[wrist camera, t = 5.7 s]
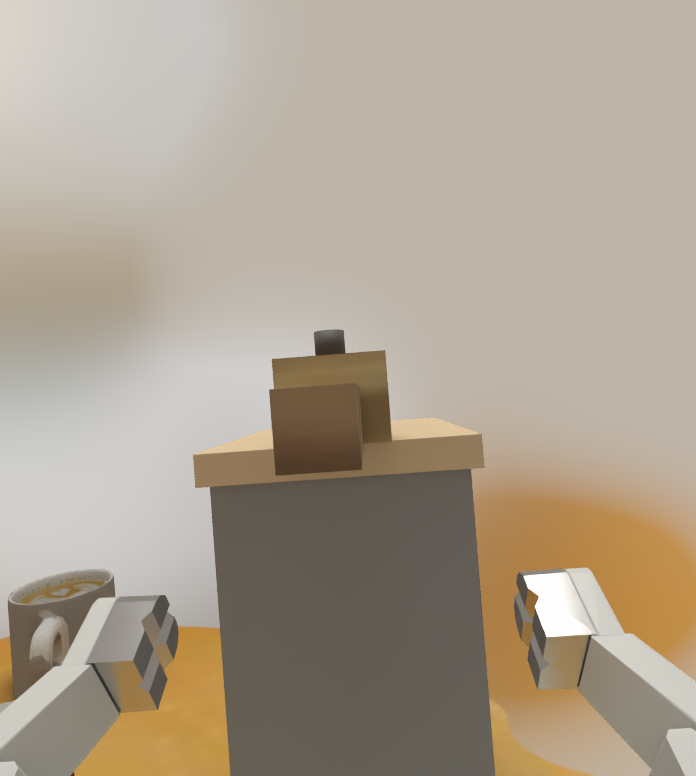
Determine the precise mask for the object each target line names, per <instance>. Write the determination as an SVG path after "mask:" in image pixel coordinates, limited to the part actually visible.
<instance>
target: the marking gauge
mask: <svg viewBox="0 0 696 776" xmlns="http://www.w3.org/2000/svg"><path fill="white" fill-rule="evenodd" d="M314 340H315V353H316V356H307V357H294V358H282V359H272V367H273V380H274V389H271V390H269V393H270V407H271V419H272V434H273V448H274V461H275V475H276V476H280V475H295V474H309V473H323V472H338V471H352V470H362V459H363V444H365V443H379V442H392V434H391V421H390V408H389V395H388V382H387V369H386V357H385V350H384V351H371V352H358V353H345V343H344V331H343V330H323V331H317V332H314Z"/></svg>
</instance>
